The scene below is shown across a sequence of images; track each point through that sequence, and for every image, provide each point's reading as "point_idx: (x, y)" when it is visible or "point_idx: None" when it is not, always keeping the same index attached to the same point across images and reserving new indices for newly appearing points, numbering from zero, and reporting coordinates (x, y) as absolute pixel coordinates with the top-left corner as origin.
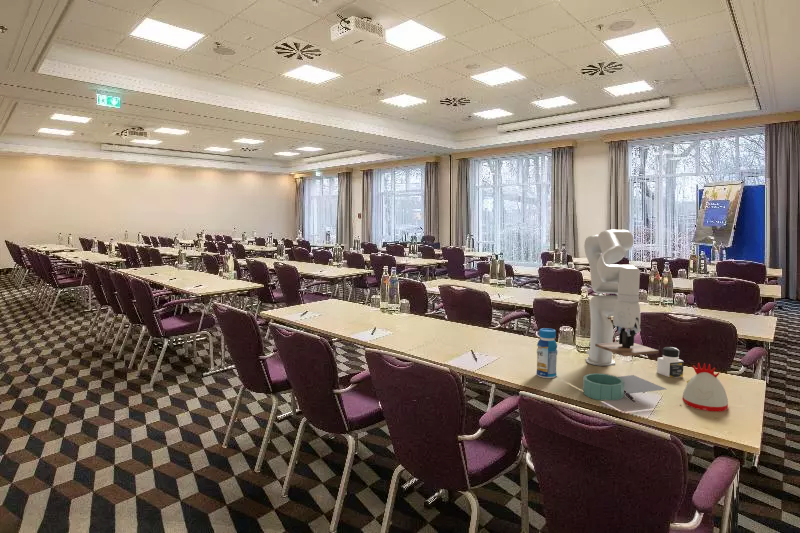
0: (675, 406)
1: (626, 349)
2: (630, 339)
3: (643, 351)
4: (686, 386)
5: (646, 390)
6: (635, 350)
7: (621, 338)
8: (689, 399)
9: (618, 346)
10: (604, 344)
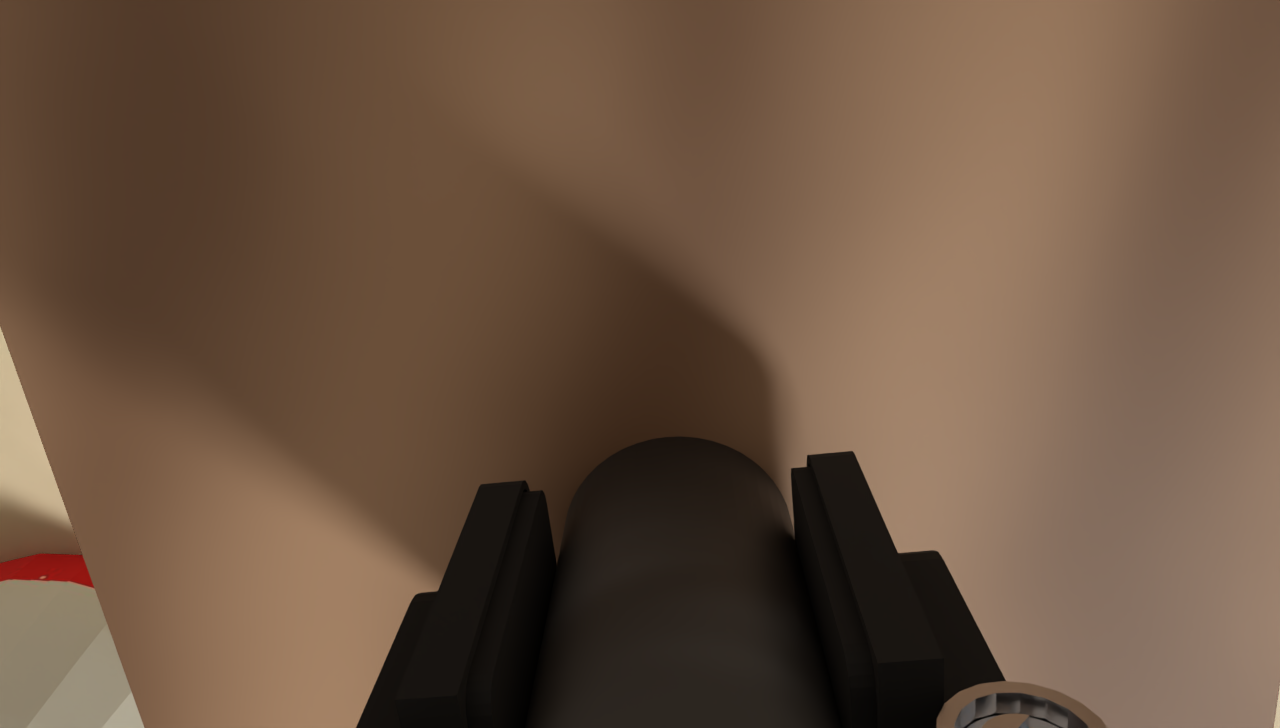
0: (29, 414)
1: (398, 369)
2: (370, 703)
3: (150, 660)
4: (73, 718)
5: None
6: (265, 538)
7: (818, 595)
8: (5, 594)
9: (788, 366)
10: (1170, 65)
